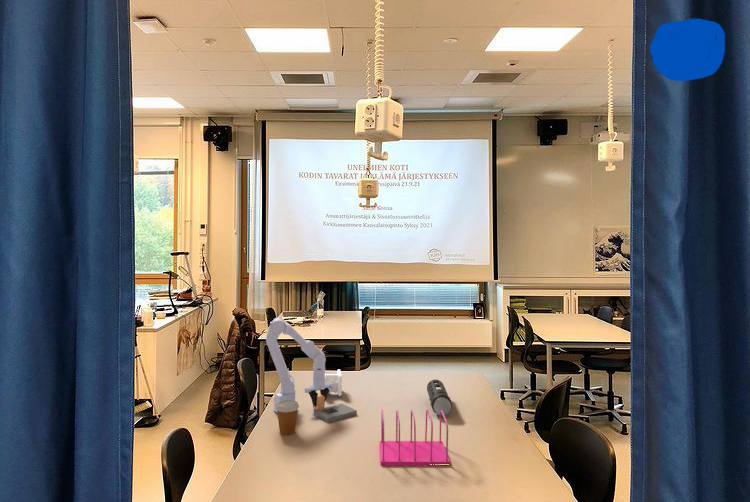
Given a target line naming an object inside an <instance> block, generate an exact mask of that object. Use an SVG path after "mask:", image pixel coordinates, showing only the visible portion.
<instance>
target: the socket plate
mask: <svg viewBox="0 0 750 502" xmlns="http://www.w3.org/2000/svg"><path fill="white" fill-rule="evenodd" d="M357 412H358V410H357V409H354V408H352V407H350V406H349V405H346V404H344V403H339V404H335V405H330V406H327V407H326V406H325V408H322V409H318V410H315V409H314V410H313V416H314V417H316V418H318V419H320V420H322V421H324V422H326V423H327V424H328V423H333V422H336V421H339V420H344V419H346V418H351V417H353V416H356V415H357V414H358V413H357Z"/></svg>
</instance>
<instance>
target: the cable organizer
mask: <svg viewBox="0 0 750 502" xmlns="http://www.w3.org/2000/svg"><path fill="white" fill-rule="evenodd" d="M326 372H327V371H326V370H325V383H332V384H333V388H328V389H329V393H334V394H337V396H338V397H342V394H343V391H342V389H343V388H342V387H343V383H342V382H343V380H342V379H343V378H342V377H343V376H342V371H341V369H337V370H336V373H326Z"/></svg>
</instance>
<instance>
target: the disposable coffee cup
mask: <svg viewBox="0 0 750 502" xmlns="http://www.w3.org/2000/svg"><path fill="white" fill-rule="evenodd" d="M276 409H277V413H276V414H277V420H278V422H277V423H278V428H279V434H281V435H283V436H284V435H285V436H287V435H293V434H294V433H295V432H296V427H297V426H296V425H297V418H298V412H299V411H298V410H299V403H298V401H296V400H295V401H293V400H285V401H280V402H278V403H277V406H276Z"/></svg>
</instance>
